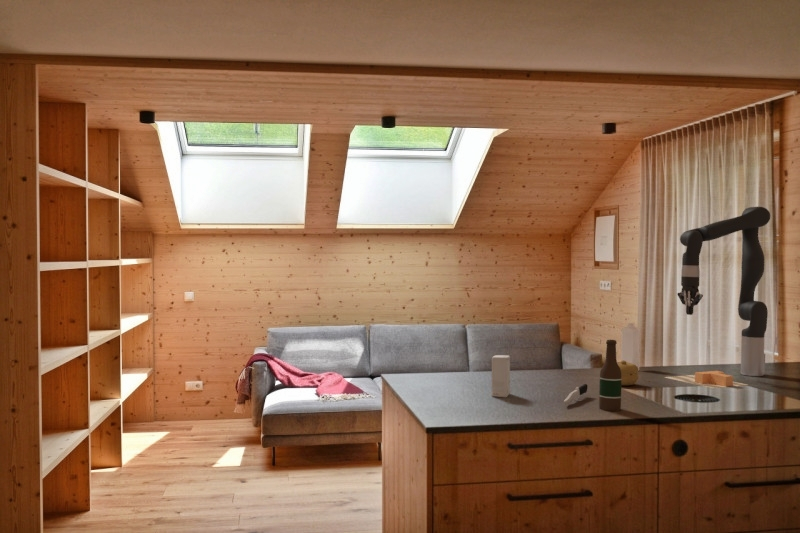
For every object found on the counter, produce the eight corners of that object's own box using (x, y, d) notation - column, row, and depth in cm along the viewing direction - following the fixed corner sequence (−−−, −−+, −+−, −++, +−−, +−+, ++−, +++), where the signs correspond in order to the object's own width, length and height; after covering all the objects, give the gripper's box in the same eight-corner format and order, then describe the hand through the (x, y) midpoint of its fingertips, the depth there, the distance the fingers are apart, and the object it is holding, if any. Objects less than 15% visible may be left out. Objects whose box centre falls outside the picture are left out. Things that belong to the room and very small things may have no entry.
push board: (698, 376, 318) (698, 374, 318) (748, 387, 295) (749, 384, 295) (664, 379, 310) (664, 377, 310) (713, 390, 286) (713, 388, 286)
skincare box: (506, 397, 268) (507, 357, 267) (490, 396, 270) (491, 356, 269) (510, 393, 276) (511, 354, 275) (494, 392, 278) (495, 353, 277)
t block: (716, 380, 304) (716, 370, 304) (739, 385, 293) (740, 375, 293) (694, 382, 300) (695, 372, 299) (718, 387, 289) (718, 377, 288)
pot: (626, 381, 304) (627, 357, 304) (644, 386, 293) (644, 362, 293) (602, 382, 301) (603, 358, 301) (619, 388, 290) (619, 363, 289)
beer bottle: (595, 406, 255) (596, 338, 254) (616, 406, 255) (618, 338, 255) (603, 411, 247) (604, 341, 246) (625, 411, 248) (626, 341, 247)
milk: (639, 371, 332) (640, 323, 331) (632, 372, 328) (633, 323, 327) (627, 369, 336) (628, 321, 336) (620, 370, 332) (621, 322, 331)
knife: (565, 408, 251) (566, 394, 251) (561, 407, 252) (561, 393, 252) (588, 396, 272) (588, 383, 272) (583, 395, 273) (583, 382, 273)
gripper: (708, 276, 317) (707, 315, 317) (685, 275, 329) (684, 313, 329) (695, 276, 314) (695, 316, 314) (672, 275, 326) (671, 313, 326)
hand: (689, 314), depth 322 cm, fingers closed
